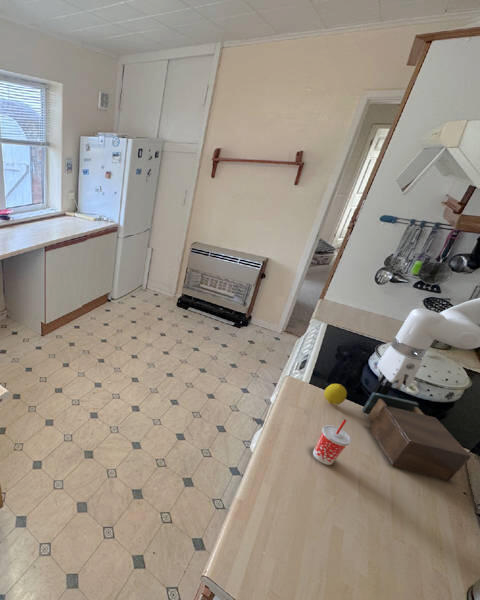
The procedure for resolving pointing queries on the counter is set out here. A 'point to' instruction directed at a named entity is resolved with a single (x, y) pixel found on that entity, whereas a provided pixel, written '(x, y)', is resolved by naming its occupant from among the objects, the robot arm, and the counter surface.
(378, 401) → the drawer
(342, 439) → the beverage cup
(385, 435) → the cabinet
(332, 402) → the lemon
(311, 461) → the counter surface
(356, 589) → the counter surface
